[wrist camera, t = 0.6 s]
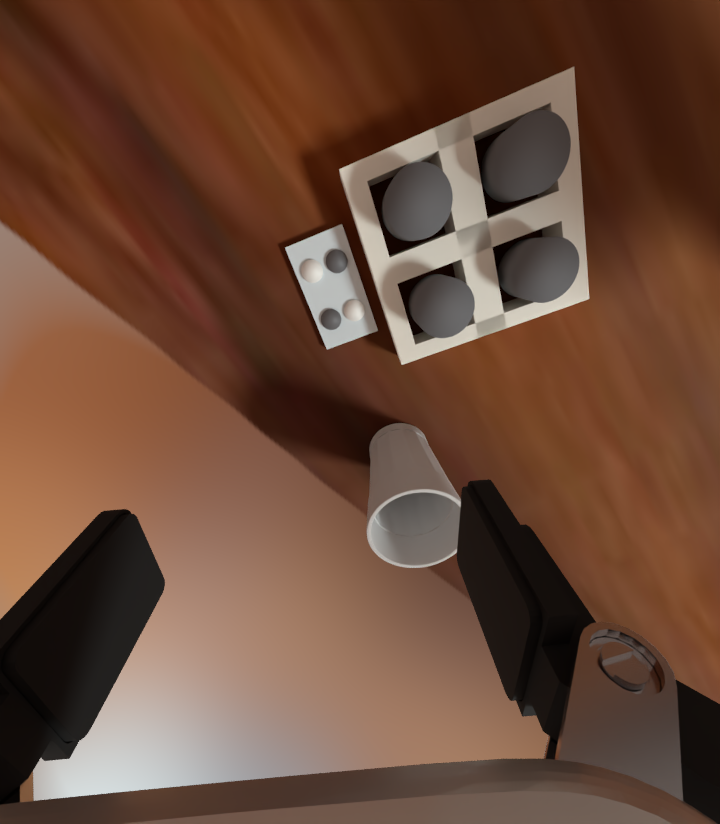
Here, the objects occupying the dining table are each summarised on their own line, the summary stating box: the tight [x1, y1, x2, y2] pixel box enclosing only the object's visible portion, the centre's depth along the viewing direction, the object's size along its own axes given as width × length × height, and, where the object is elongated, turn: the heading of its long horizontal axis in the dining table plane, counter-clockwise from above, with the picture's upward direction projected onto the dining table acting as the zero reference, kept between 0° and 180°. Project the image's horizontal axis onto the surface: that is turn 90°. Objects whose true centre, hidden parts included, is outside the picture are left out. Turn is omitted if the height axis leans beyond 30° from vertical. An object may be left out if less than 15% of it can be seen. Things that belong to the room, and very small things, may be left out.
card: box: [285, 224, 378, 349], centre depth 29 cm, size 5×9×1 cm, turn 20°
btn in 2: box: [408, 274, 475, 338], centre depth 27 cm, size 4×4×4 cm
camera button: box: [481, 110, 571, 203], centre depth 23 cm, size 4×4×4 cm
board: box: [339, 67, 589, 365], centre depth 27 cm, size 16×15×3 cm
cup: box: [367, 423, 461, 568], centre depth 31 cm, size 8×8×12 cm
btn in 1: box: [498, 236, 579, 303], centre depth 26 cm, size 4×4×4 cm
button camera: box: [381, 162, 453, 241], centre depth 24 cm, size 4×4×4 cm
